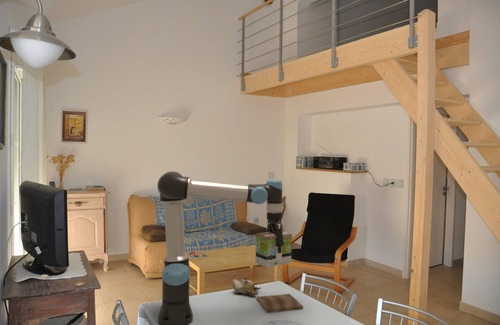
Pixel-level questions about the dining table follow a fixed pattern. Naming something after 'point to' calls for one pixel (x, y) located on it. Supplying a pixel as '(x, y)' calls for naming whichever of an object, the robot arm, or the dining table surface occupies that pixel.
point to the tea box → (272, 249)
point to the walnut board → (279, 303)
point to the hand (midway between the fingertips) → (274, 256)
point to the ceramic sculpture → (245, 287)
